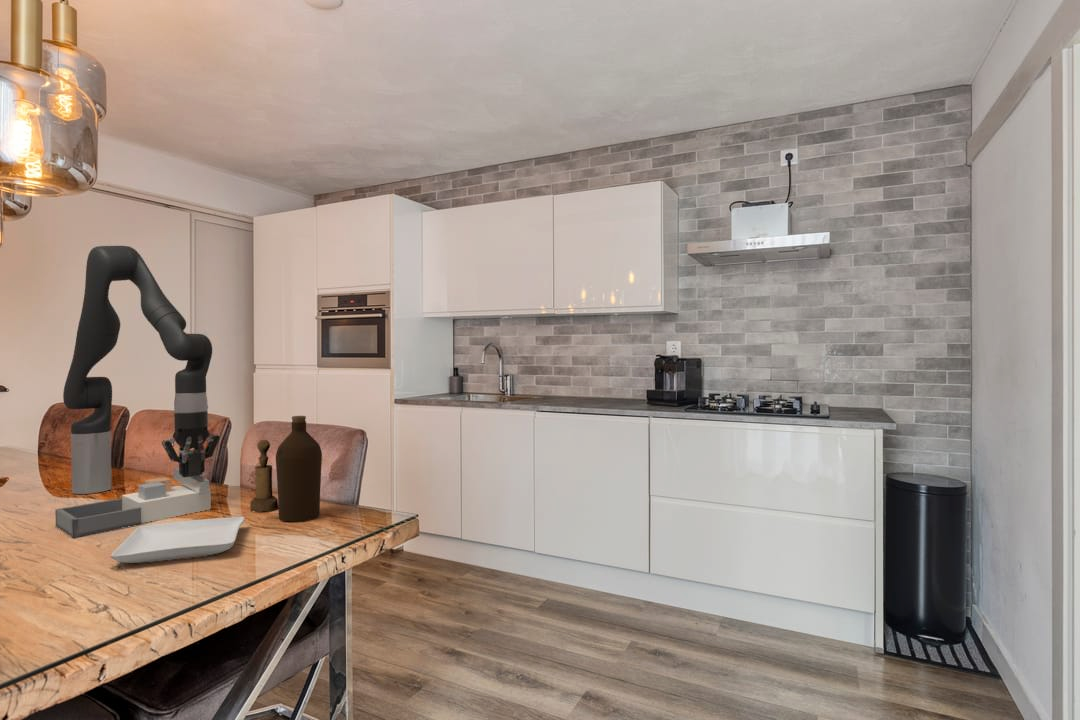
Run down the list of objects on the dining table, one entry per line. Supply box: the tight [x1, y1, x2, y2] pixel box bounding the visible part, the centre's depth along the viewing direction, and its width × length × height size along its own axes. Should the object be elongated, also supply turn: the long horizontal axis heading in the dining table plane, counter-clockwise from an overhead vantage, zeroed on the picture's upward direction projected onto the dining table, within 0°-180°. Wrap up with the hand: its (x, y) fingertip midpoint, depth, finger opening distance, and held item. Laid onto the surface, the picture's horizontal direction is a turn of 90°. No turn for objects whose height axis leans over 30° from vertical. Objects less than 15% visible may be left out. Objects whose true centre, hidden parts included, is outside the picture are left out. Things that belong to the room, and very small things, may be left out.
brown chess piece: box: [249, 439, 278, 513], centre depth 154 cm, size 7×6×18 cm
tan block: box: [144, 476, 172, 492], centre depth 152 cm, size 4×4×3 cm
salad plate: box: [110, 516, 246, 564], centre depth 125 cm, size 21×21×3 cm
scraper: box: [173, 449, 210, 494], centre depth 156 cm, size 16×3×9 cm, turn 52°
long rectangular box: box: [121, 484, 212, 524], centre depth 151 cm, size 12×16×5 cm
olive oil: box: [275, 415, 323, 522], centre depth 147 cm, size 11×11×25 cm
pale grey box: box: [137, 482, 166, 500], centre depth 147 cm, size 4×4×3 cm
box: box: [55, 497, 142, 539], centre depth 140 cm, size 14×13×4 cm
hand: (191, 475), depth 156 cm, fingers closed on scraper, 3 cm apart
